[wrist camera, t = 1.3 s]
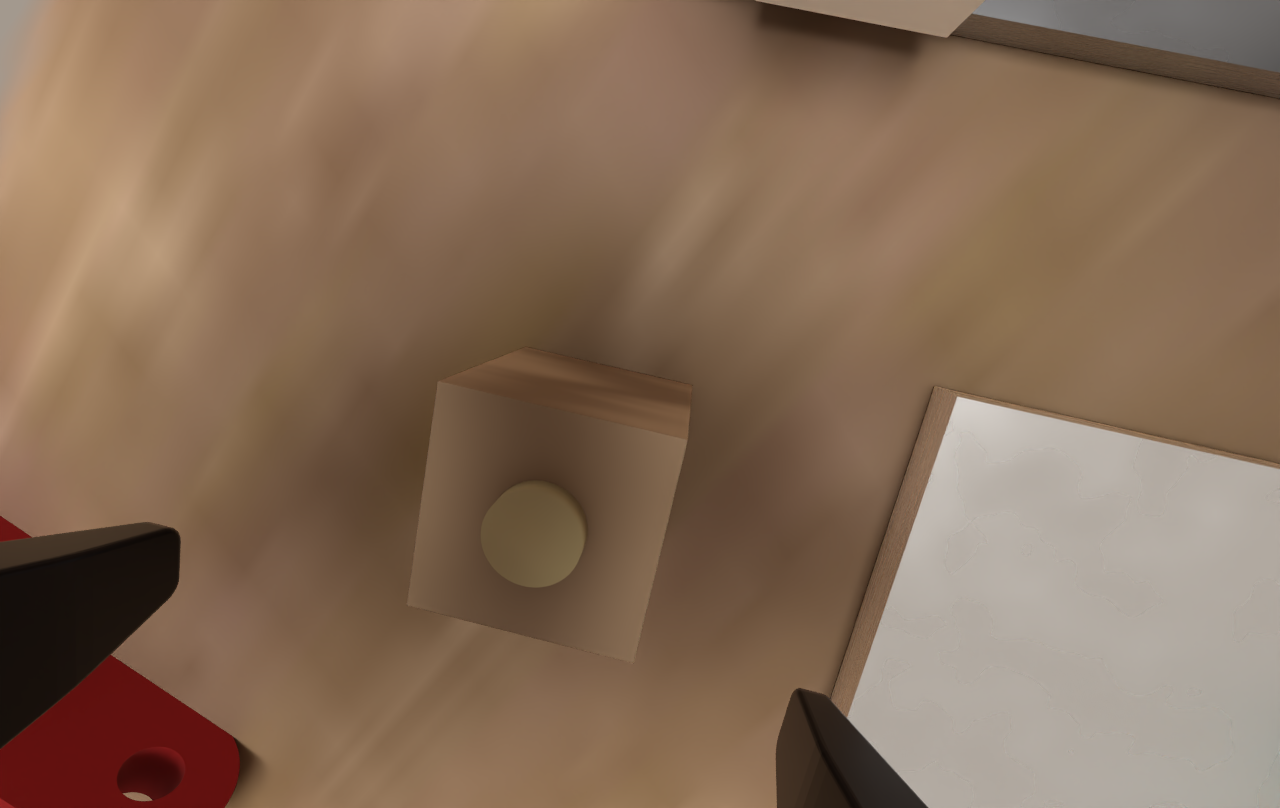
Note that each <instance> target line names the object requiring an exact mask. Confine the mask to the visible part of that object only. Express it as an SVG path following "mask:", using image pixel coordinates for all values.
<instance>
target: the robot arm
mask: <svg viewBox="0 0 1280 808" xmlns="http://www.w3.org/2000/svg"><path fill="white" fill-rule="evenodd" d="M180 544H181V540H180V535H179V533H178V531H176V530H175V529H174V528H170V527H167V526H163V525H159V524H155V523H151V522H142V523H135V524H128V525H120V526H113V527H106V528H99V529H91V530H84V531H77V532H69V533H62V534H55V535H47V536H40V537H33V538H25V539H18V540H11V541H4V542H0V749H1V748H3V747H4V746H5V745H6V744H8V743H9V742H10V741H11V740H12V739H14V738H15V737H16V736H17V735H19V734H20V733H21V732H22V731H23V730H25V729H26V728H27V727H28V726H29V725H31V724H32V723H33V722H34V721H36V720H37V719H38V718H39V717H40V716H42V715H43V714H44V713H45V712H47V711H48V710H49V709H50V708H51V707H53V706H54V705H55V704H56V703H58V702H59V701H60V700H61V699H62V698H63V697H65V696H66V695H67V694H68V693H69V692H70V691H72V690H73V689H74V688H75V687H76V686H77V685H79V684H80V683H81V682H82V681H83V680H84V679H85V678H86V677H87V676H88V675H89V674H90V673H92V672H93V671H94V670H95V669H96V668H97V667H98V666H99V665H100V664H101V663H102V662H103V661H104V660H105V659H106V658H107V657H108V656H109V655H110V654H112V653H113V652H114V651H115V650H116V649H117V648H118V647H119V646H120V645H121V644H122V643H123V642H124V641H125V640H126V639H127V638H128V637H129V636H130V635H131V634H132V633H134V632H135V631H136V630H137V629H138V628H139V627H140V626H141V625H142V624H143V623H144V622H145V621H146V620H147V619H148V618H149V617H150V616H151V615H152V614H153V613H154V612H156V611H157V610H158V609H159V608H160V607H161V606H162V605H163V604H164V603H165V602H166V601H167V600H168V599H169V598H170V597H171V596H172V594H173V593H174V591H175V589H176V587H177V585H178V582H179V569H180ZM776 786H777V808H928V807H927V805H926V804H925V803H924V802H923V801H922V800H921V799H920V798H919V797H918V796H917V794H916V793H915V792H914V791H913V790H912V789H911V788H910V787H909V786H908V785H907V783H906V782H905V781H904V780H903V779H902V778H901V777H900V776H899V775H898V774H897V772H896V771H895V770H894V769H893V768H892V767H891V766H890V765H889V764H888V763H887V761H886V760H885V759H884V758H883V757H882V756H881V755H880V754H879V753H878V752H877V750H876V749H875V748H874V747H873V746H872V745H871V744H870V743H869V742H868V741H867V739H866V738H865V737H864V736H863V735H862V734H861V733H860V732H859V731H858V730H857V728H856V727H855V726H854V725H853V724H852V723H851V722H850V721H849V720H848V719H847V717H846V716H845V715H844V714H843V713H842V712H841V711H840V710H839V709H838V708H837V706H836V705H835V704H834V703H833V702H832V701H831V700H830V699H829V698H828V697H827V696H826V695H824V694H821V693H817V692H813V691H809V690H805V689H801V688H798V689H796V690H795V691H794V692H793V694H792V695H791V698H790V701H789V704H788V707H787V711H786V714H785V717H784V720H783V723H782V726H781V730H780V733H779V736H778V740H777V747H776Z"/></svg>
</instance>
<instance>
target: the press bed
mask: <svg viewBox="0 0 1280 808" xmlns="http://www.w3.org/2000/svg"><path fill="white" fill-rule="evenodd" d="M830 700H831V701H832V702H833V703H834V704H835V705H836V706H837V708H838V709H839V710H840V711H841V712H842V713H843V714H844V715H845V716H846V717H847V719H848V720H849V721H850V722H851V723H852V724H853V725H854V726H855V727H856V728H857V730H858V731H859V732H860V733H861V734H862V735H863V736H864V737H865V738H866V739H867V741H868V742H869V743H870V744H871V745H872V746H873V747H874V748H875V749H876V750H877V752H878V753H879V754H880V755H881V756H882V757H883V758H884V759H885V760H886V761H887V763H888V764H889V765H890V766H891V767H892V768H893V769H894V770H895V771H896V772H897V774H898V775H899V776H900V777H901V778H902V779H903V780H904V781H905V782H906V783H907V785H908V786H909V787H910V788H911V789H912V790H913V791H914V792H915V793H916V794H917V796H918V797H919V798H920V799H921V800H922V801H923V802H924V803H925V804H926V805H927V807H928V808H1280V464H1279V463H1275V462H1270V461H1266V460H1261V459H1257V458H1252V457H1248V456H1243V455H1239V454H1234V453H1230V452H1226V451H1221V450H1217V449H1212V448H1208V447H1203V446H1199V445H1194V444H1190V443H1186V442H1181V441H1177V440H1172V439H1168V438H1163V437H1159V436H1154V435H1150V434H1145V433H1141V432H1137V431H1132V430H1128V429H1123V428H1119V427H1114V426H1110V425H1105V424H1101V423H1097V422H1092V421H1088V420H1083V419H1079V418H1074V417H1070V416H1065V415H1061V414H1056V413H1052V412H1048V411H1043V410H1039V409H1034V408H1030V407H1025V406H1021V405H1016V404H1012V403H1008V402H1003V401H999V400H994V399H990V398H985V397H981V396H976V395H972V394H967V393H963V392H959V391H954V390H950V389H945V388H941V387H936V386H934V389H933V392H932V395H931V398H930V401H929V404H928V407H927V410H926V413H925V416H924V419H923V422H922V425H921V428H920V431H919V434H918V437H917V440H916V443H915V446H914V449H913V452H912V455H911V458H910V461H909V464H908V467H907V470H906V474H905V477H904V480H903V483H902V486H901V489H900V492H899V495H898V498H897V501H896V504H895V507H894V510H893V513H892V516H891V519H890V522H889V525H888V528H887V531H886V534H885V537H884V540H883V543H882V546H881V549H880V552H879V555H878V558H877V561H876V564H875V567H874V570H873V573H872V576H871V579H870V582H869V585H868V588H867V591H866V594H865V597H864V600H863V603H862V606H861V609H860V612H859V615H858V618H857V621H856V624H855V627H854V630H853V633H852V636H851V639H850V642H849V645H848V648H847V651H846V654H845V657H844V660H843V663H842V666H841V669H840V672H839V675H838V678H837V681H836V684H835V687H834V690H833V693H832V696H831V699H830Z"/></svg>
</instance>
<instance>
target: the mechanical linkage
mask: <svg viewBox="0 0 1280 808" xmlns="http://www.w3.org/2000/svg"><path fill="white" fill-rule="evenodd" d="M25 538H32V537H31V536H29V535H28V534H26V533H25V532H23V531H22V530H20V529H19V528H17V527H16V526H14V525H13V524H11V523H10V522H8V521H7V520H6V519H4V518H3V517H1V516H0V542H4V541H11V540H18V539H25ZM239 768H240V759H239V752H238V749H237V745H236V743H235V741H234V738H233V737H232V736H231V735H230V734H228V733H227V732H225V731H224V730H222V729H221V728H219V727H218V726H216V725H215V724H213V723H212V722H210V721H209V720H207V719H206V718H204V717H203V716H201V715H200V714H198V713H197V712H195V711H194V710H192V709H191V708H189V707H188V706H187V705H185V704H184V703H182V702H181V701H179V700H178V699H176V698H175V697H173V696H172V695H170V694H169V693H167V692H166V691H164V690H163V689H161V688H160V687H158V686H157V685H155V684H154V683H152V682H151V681H149V680H148V679H146V678H145V677H143V676H142V675H140V674H139V673H137V672H136V671H134V670H133V669H131V668H130V667H128V666H127V665H125V664H124V663H122V662H121V661H119V660H118V659H116V658H115V657H113V656H112V655H109V656H108V657H107V658H106V659H105V660H104V661H103V662H102V663H101V664H100V665H99V666H98V667H97V668H96V669H95V670H94V671H93V672H92V673H90V674H89V675H88V676H87V677H86V678H85V679H84V680H83V681H82V682H81V683H80V684H79V685H77V686H76V687H75V688H74V689H73V690H72V691H70V692H69V693H68V694H67V695H66V696H65V697H63V698H62V699H61V700H60V701H59V702H58V703H56V704H55V705H54V706H53V707H51V708H50V709H49V710H48V711H47V712H45V713H44V714H43V715H42V716H40V717H39V718H38V719H37V720H36V721H34V722H33V723H32V724H31V725H29V726H28V727H27V728H26V729H25V730H23V731H22V732H21V733H20V734H19V735H17V736H16V737H15V738H14V739H12V740H11V741H10V742H9V743H8V744H6V745H5V746H4V747H3V748H1V749H0V808H224V807H225V806H226V804H227V803H228V801H229V799H230V798H231V796H232V794H233V792H234V789H235V787H236V784H237V780H238V776H239ZM128 792H137V793H142V794H145V795H147V796H149V797H150V798H151V799H152V800H153V801H135V800H132V799H130V798H127V797H126V796H125V795H123V794H122V793H128Z"/></svg>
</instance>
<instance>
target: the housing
mask: <svg viewBox="0 0 1280 808" xmlns="http://www.w3.org/2000/svg"><path fill="white" fill-rule="evenodd" d="M691 397H692V385H690V384H685V383H681V382H677V381H672V380H668V379H663V378H659V377H655V376H650V375H646V374H642V373H637V372H633V371H629V370H624V369H620V368H616V367H611V366H607V365H603V364H598V363H594V362H590V361H585V360H581V359H576V358H572V357H568V356H563V355H559V354H555V353H550V352H546V351H542V350H537V349H533V348H529V347H524V348H521V349H519V350H516V351H514V352H511V353H509V354H506V355H503V356H501V357H498V358H496V359H493V360H491V361H488V362H486V363H483V364H480V365H478V366H475V367H473V368H470V369H468V370H465V371H462V372H460V373H457V374H455V375H452V376H450V377H447V378H445V379H442V380H439V381H438V384H437V391H436V398H435V405H434V413H433V420H432V427H431V434H430V441H429V449H428V456H427V463H426V470H425V477H424V484H423V492H422V499H421V506H420V513H419V520H418V528H417V535H416V542H415V549H414V556H413V563H412V571H411V578H410V585H409V592H408V599H407V606H411V607H415V608H419V609H423V610H427V611H431V612H434V613H438V614H442V615H446V616H450V617H454V618H458V619H462V620H466V621H469V622H473V623H477V624H481V625H485V626H489V627H493V628H497V629H501V630H505V631H508V632H512V633H516V634H520V635H524V636H528V637H532V638H536V639H540V640H543V641H547V642H551V643H555V644H559V645H563V646H567V647H571V648H575V649H579V650H582V651H586V652H590V653H594V654H598V655H602V656H606V657H610V658H614V659H617V660H621V661H625V662H629V663H633V664H634V660H635V656H636V652H637V648H638V643H639V639H640V635H641V631H642V627H643V623H644V619H645V615H646V610H647V606H648V602H649V598H650V594H651V590H652V586H653V582H654V577H655V573H656V569H657V565H658V561H659V557H660V553H661V549H662V544H663V540H664V536H665V532H666V528H667V524H668V520H669V516H670V511H671V507H672V503H673V499H674V495H675V491H676V487H677V483H678V478H679V474H680V470H681V466H682V462H683V458H684V454H685V450H686V445H687V441H688V432H689V420H690V409H691Z"/></svg>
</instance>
